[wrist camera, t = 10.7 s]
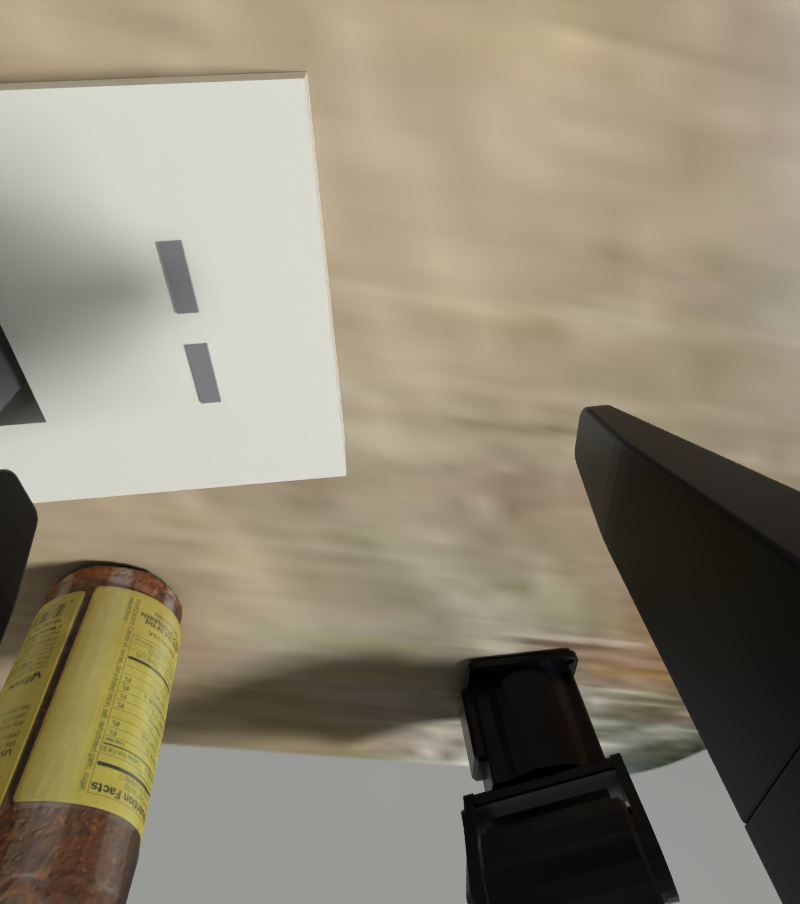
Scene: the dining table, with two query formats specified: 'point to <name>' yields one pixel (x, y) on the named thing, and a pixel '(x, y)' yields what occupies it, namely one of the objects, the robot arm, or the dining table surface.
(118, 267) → the socket plate
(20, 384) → the plug
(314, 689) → the dining table surface
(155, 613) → the sauce bottle
